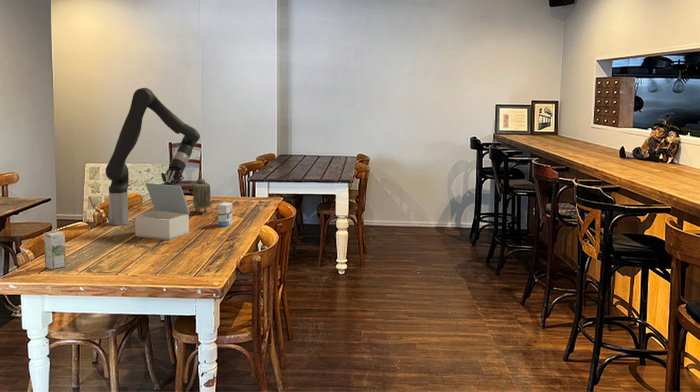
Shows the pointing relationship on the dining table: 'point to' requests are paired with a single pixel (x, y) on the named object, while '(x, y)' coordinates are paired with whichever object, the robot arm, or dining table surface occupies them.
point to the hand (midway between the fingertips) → (165, 189)
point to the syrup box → (54, 249)
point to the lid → (167, 198)
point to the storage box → (162, 225)
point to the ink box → (225, 214)
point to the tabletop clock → (201, 194)
